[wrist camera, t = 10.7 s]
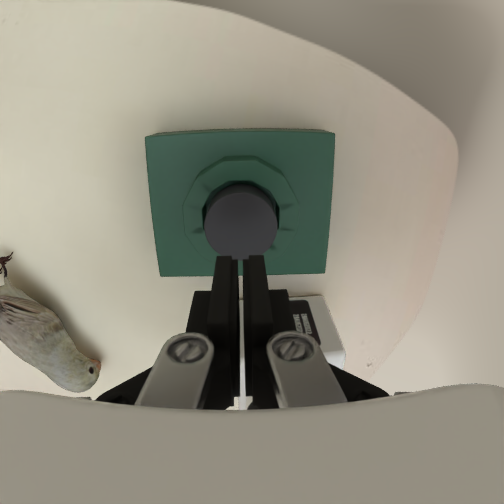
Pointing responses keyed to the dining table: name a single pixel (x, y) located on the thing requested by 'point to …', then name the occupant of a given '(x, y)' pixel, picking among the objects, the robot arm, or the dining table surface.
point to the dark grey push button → (240, 222)
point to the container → (307, 321)
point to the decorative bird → (42, 339)
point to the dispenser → (241, 172)
